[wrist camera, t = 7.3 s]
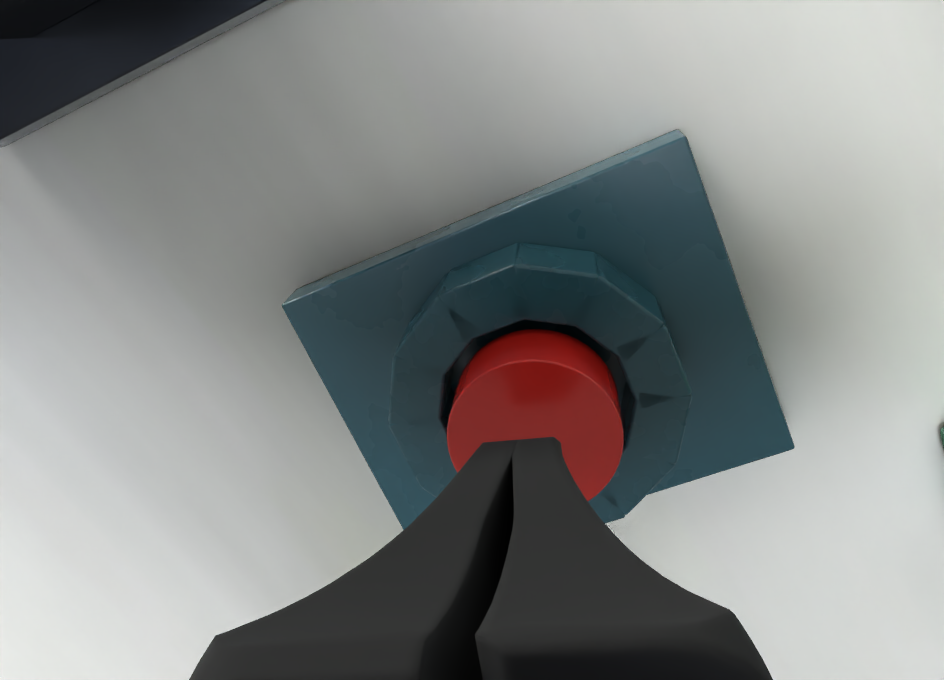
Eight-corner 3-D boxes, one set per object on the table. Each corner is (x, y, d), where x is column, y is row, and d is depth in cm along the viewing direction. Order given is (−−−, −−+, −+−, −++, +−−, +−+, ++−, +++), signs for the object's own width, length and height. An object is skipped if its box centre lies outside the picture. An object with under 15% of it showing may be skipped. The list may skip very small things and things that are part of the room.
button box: (429, 539, 23) (411, 611, 20) (295, 289, 21) (253, 332, 18) (783, 425, 21) (817, 489, 18) (678, 128, 18) (699, 148, 15)
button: (495, 492, 19) (488, 537, 18) (430, 362, 18) (417, 396, 16) (641, 444, 18) (648, 486, 17) (582, 303, 17) (584, 333, 16)
